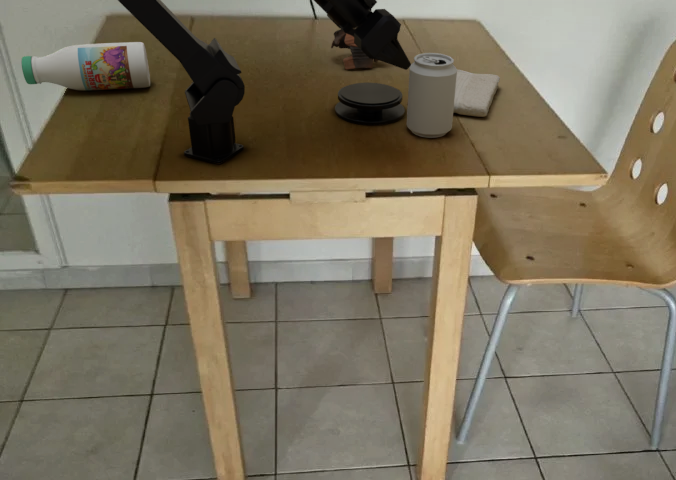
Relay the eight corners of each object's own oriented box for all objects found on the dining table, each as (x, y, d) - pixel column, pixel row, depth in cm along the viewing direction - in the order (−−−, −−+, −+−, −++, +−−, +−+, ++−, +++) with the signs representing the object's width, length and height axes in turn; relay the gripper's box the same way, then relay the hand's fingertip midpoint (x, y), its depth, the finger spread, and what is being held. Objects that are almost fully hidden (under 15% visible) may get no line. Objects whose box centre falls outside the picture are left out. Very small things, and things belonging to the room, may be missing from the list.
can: (448, 142, 114) (454, 67, 107) (402, 136, 115) (405, 62, 108) (454, 124, 120) (461, 53, 113) (410, 119, 121) (414, 48, 114)
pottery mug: (330, 72, 140) (323, 29, 139) (343, 79, 149) (337, 39, 148) (389, 61, 138) (383, 17, 137) (398, 69, 147) (393, 28, 146)
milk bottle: (151, 79, 131) (33, 86, 126) (144, 36, 127) (22, 41, 122) (151, 92, 125) (27, 100, 120) (143, 48, 121) (14, 53, 116)
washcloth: (499, 86, 136) (501, 70, 134) (487, 121, 122) (489, 103, 120) (438, 79, 138) (439, 63, 136) (419, 112, 124) (420, 94, 122)
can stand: (386, 130, 117) (387, 110, 115) (322, 116, 120) (321, 97, 118) (415, 107, 126) (416, 88, 124) (354, 94, 129) (354, 76, 127)
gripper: (388, -50, 90) (460, 34, 100) (346, -75, 104) (413, 1, 114) (329, 18, 92) (405, 93, 102) (295, -15, 106) (365, 54, 116)
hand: (398, 57), depth 108 cm, fingers open, 9 cm apart
